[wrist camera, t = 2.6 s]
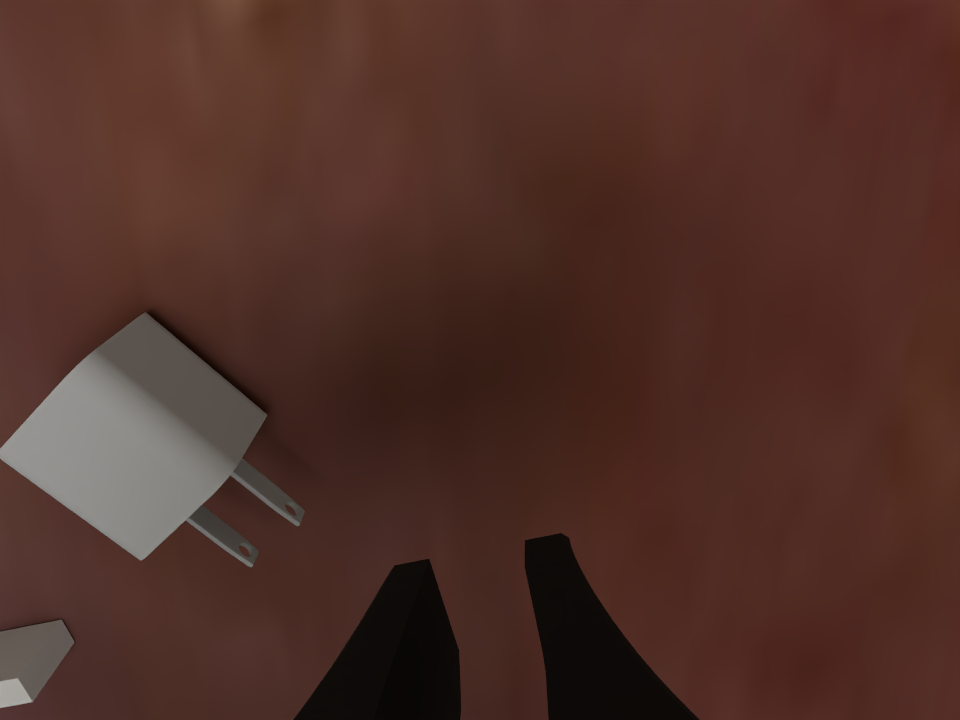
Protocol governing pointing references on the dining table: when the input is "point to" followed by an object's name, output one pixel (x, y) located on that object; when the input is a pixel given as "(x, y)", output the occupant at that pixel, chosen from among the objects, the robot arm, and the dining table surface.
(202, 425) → the usb wall charger
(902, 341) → the dining table surface
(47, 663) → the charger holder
